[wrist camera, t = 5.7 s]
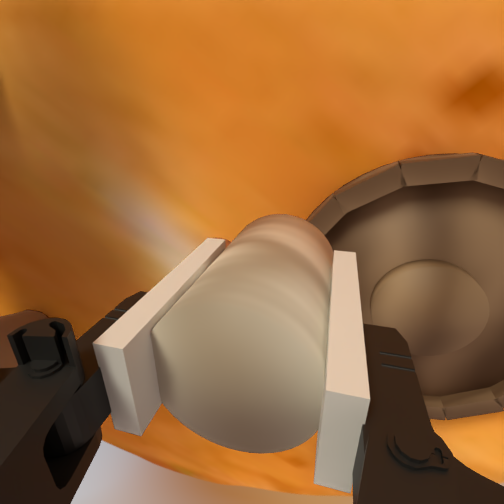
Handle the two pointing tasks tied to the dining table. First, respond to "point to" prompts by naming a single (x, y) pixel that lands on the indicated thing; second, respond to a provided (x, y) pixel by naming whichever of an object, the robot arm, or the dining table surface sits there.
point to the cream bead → (251, 339)
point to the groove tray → (432, 230)
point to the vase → (3, 353)
